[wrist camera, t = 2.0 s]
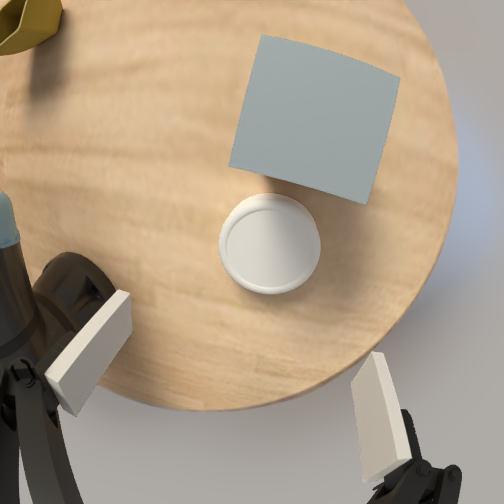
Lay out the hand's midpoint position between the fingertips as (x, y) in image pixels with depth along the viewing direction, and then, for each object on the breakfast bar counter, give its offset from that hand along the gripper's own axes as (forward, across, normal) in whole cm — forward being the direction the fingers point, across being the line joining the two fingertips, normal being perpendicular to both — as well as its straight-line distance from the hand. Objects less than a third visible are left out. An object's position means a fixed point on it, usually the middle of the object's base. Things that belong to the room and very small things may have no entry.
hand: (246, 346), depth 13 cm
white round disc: (+17, 0, +1) cm, 17 cm away
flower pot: (+17, +37, -25) cm, 48 cm away
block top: (+10, -1, -11) cm, 15 cm away
